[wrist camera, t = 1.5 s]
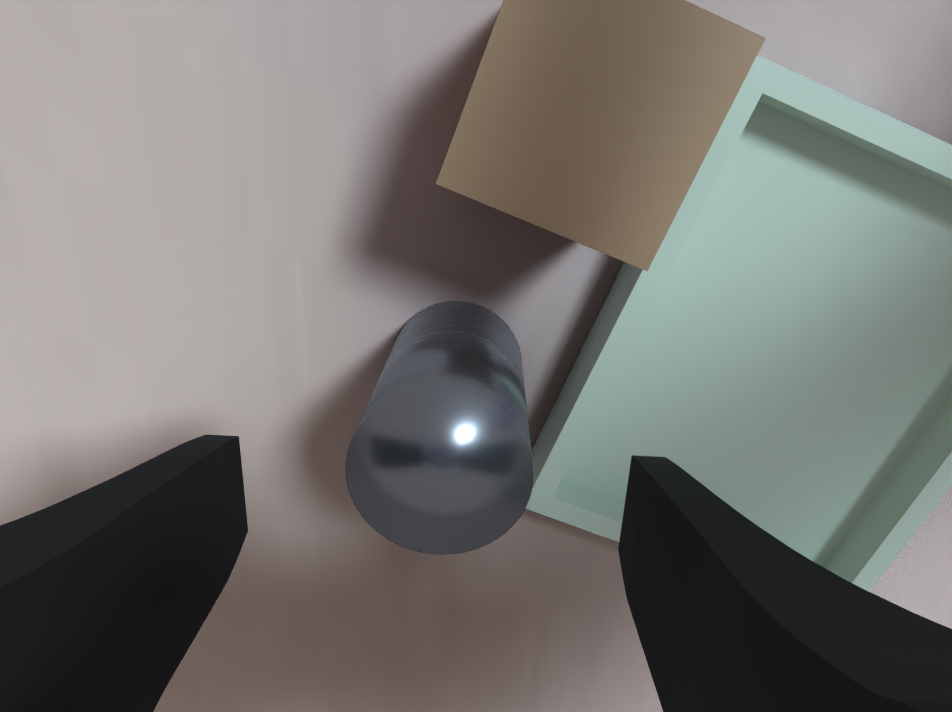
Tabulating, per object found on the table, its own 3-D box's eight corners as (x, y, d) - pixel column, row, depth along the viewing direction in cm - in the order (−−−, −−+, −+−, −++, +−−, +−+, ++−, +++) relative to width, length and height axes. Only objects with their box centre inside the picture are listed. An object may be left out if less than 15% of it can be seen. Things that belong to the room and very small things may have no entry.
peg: (542, 330, 18) (564, 431, 12) (492, 438, 19) (490, 577, 13) (418, 281, 17) (381, 361, 12) (374, 395, 18) (322, 518, 13)
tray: (1077, 222, 16) (1145, 234, 14) (814, 581, 20) (843, 624, 18) (723, 59, 15) (751, 52, 13) (520, 472, 19) (522, 507, 17)
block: (673, 64, 15) (765, 37, 10) (599, 222, 17) (647, 271, 11) (517, -8, 15) (530, -73, 10) (454, 161, 16) (436, 183, 11)
